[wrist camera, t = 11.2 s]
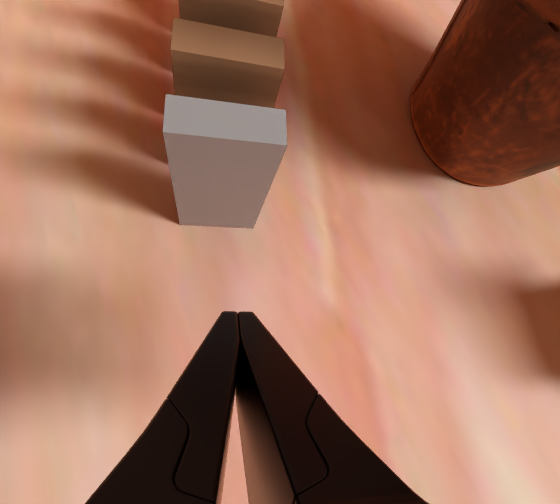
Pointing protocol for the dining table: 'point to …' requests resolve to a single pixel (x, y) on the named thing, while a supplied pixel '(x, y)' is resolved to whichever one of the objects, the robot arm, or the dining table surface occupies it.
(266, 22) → the domino
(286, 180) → the dining table surface
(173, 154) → the domino
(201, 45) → the domino
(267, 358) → the robot arm
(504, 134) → the brown wooden tapered container
